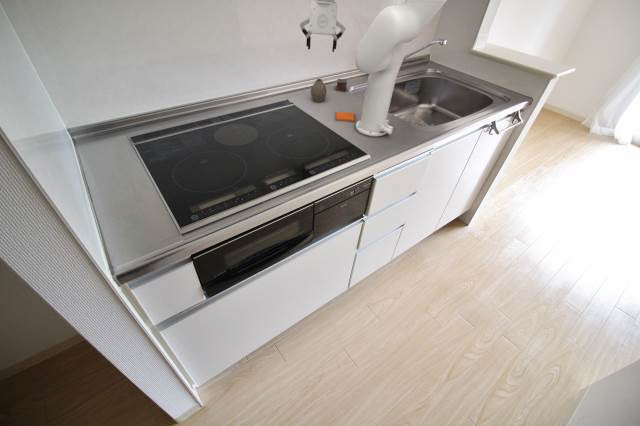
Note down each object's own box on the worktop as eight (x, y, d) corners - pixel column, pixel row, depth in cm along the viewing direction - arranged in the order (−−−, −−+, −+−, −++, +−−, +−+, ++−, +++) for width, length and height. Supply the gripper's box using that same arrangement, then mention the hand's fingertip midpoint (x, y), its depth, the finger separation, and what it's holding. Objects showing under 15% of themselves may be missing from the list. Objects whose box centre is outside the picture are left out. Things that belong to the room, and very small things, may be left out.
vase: (325, 103, 126) (327, 83, 120) (310, 102, 126) (310, 82, 120) (326, 97, 131) (327, 77, 125) (310, 96, 131) (311, 76, 125)
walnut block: (345, 87, 140) (346, 79, 138) (345, 91, 137) (346, 82, 135) (336, 87, 140) (337, 78, 138) (336, 90, 137) (337, 82, 135)
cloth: (353, 114, 120) (353, 113, 119) (354, 121, 115) (354, 119, 115) (336, 113, 120) (336, 111, 119) (336, 120, 115) (336, 118, 115)
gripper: (299, -5, 99) (298, 50, 111) (349, 0, 99) (342, 54, 111) (301, -8, 104) (300, 45, 116) (348, -3, 105) (342, 49, 117)
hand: (321, 49), depth 114 cm, fingers open, 9 cm apart
